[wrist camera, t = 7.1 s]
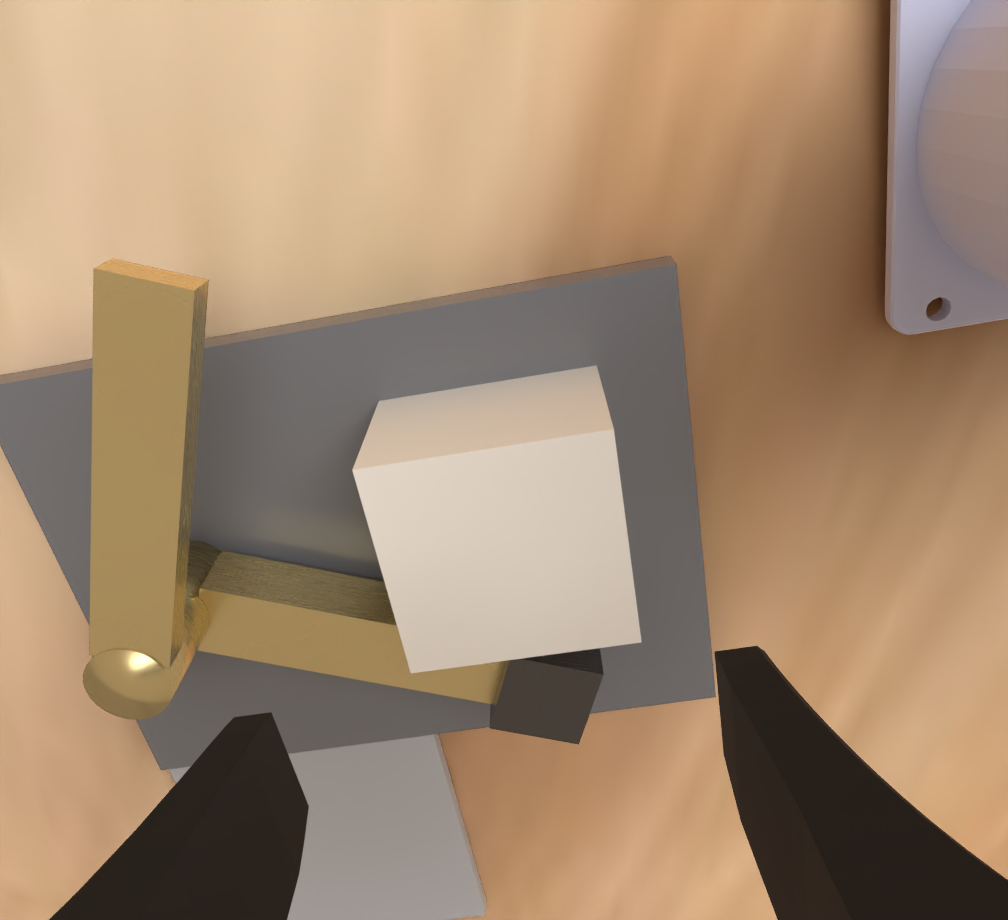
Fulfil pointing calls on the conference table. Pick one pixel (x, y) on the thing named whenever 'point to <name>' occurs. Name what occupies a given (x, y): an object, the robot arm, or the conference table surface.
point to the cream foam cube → (500, 520)
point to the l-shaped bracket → (230, 576)
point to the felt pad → (382, 835)
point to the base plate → (335, 498)
